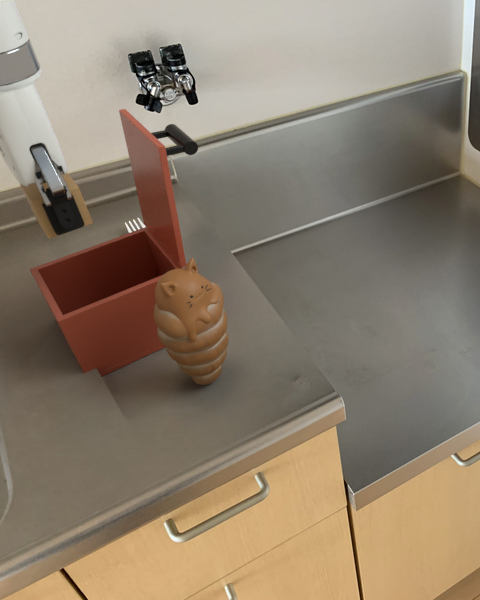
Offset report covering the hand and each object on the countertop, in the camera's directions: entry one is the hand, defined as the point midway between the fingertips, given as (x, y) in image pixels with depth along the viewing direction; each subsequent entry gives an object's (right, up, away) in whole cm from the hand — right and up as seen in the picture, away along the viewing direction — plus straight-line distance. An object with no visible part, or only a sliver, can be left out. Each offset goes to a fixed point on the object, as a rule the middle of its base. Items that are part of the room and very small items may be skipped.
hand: (62, 217), depth 72 cm
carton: (0, 0, 0) cm, 1 cm away
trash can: (+2, -14, +14) cm, 20 cm away
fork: (+1, -3, +27) cm, 27 cm away
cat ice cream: (+15, -20, +7) cm, 26 cm away
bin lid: (+8, +4, +5) cm, 10 cm away
